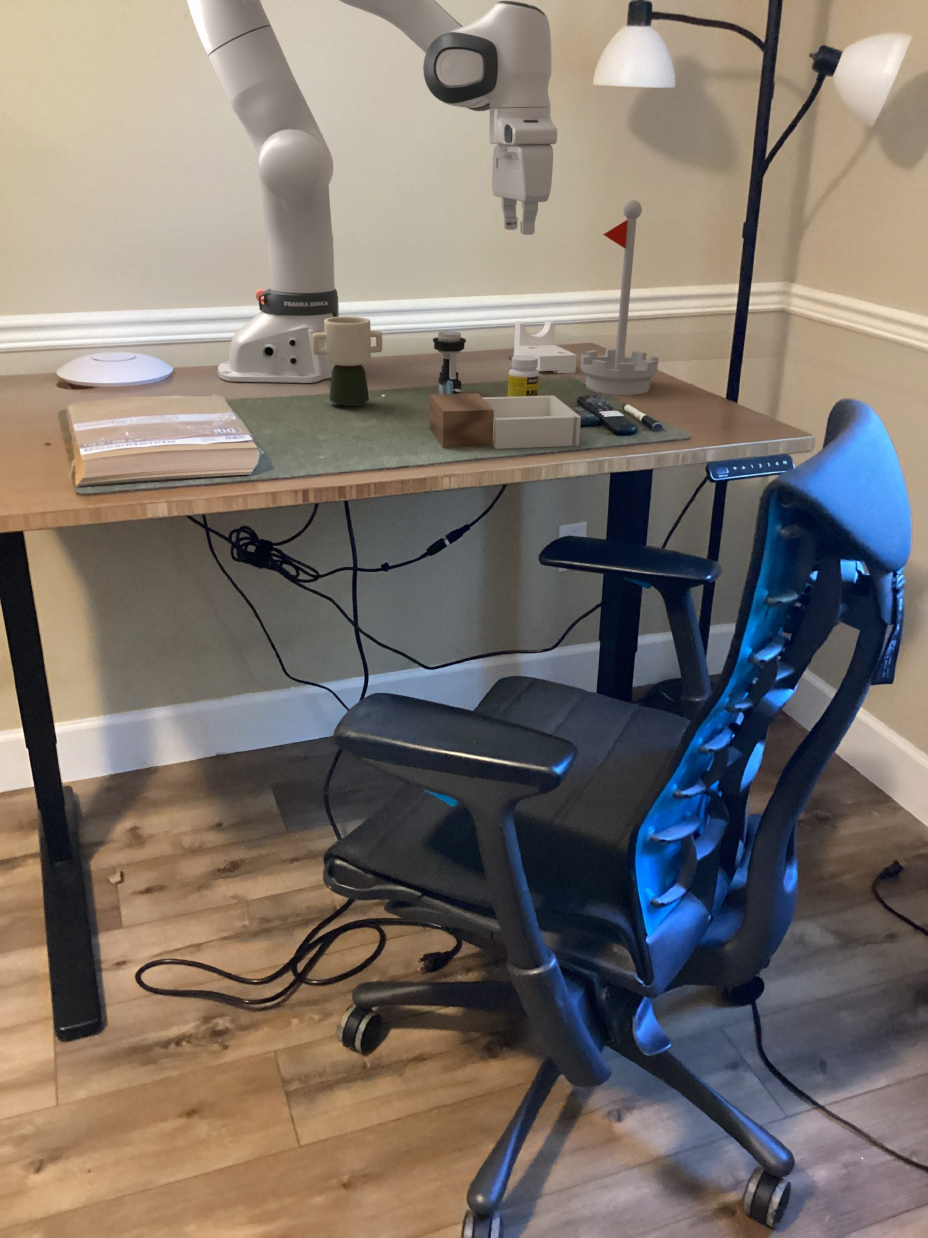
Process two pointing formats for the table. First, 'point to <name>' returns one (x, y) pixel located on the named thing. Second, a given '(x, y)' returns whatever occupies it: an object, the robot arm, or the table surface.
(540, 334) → the bracket
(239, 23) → the robot arm
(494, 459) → the table surface
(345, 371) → the cream and green trophy
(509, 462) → the table surface
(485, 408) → the walnut step
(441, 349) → the push button
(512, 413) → the grey tray
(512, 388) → the supplement bottle
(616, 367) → the flag stand
